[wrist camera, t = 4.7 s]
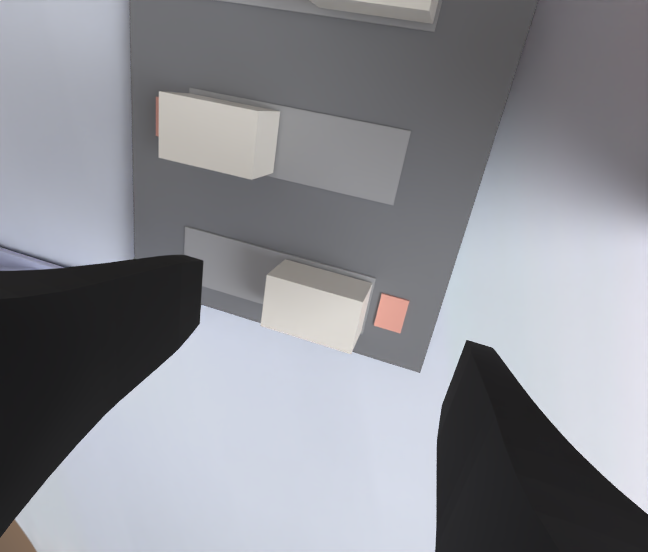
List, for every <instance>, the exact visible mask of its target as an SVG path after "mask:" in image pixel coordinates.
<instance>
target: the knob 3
mask: <svg viewBox="0 0 648 552" xmlns="http://www.w3.org/2000/svg"><path fill="white" fill-rule="evenodd" d="M309 1H311V2H312V3H313V4H315V5H316V6H317V7H319V8H324V9H331V10H338V11H345V12H352V13H359V14H366V15H373V16H381V17H388V18H395V19H402V20H409V21H416V22H423V23H430V24H433V22H434V17H435V13H436V9H437V5H438V0H309Z"/></svg>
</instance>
